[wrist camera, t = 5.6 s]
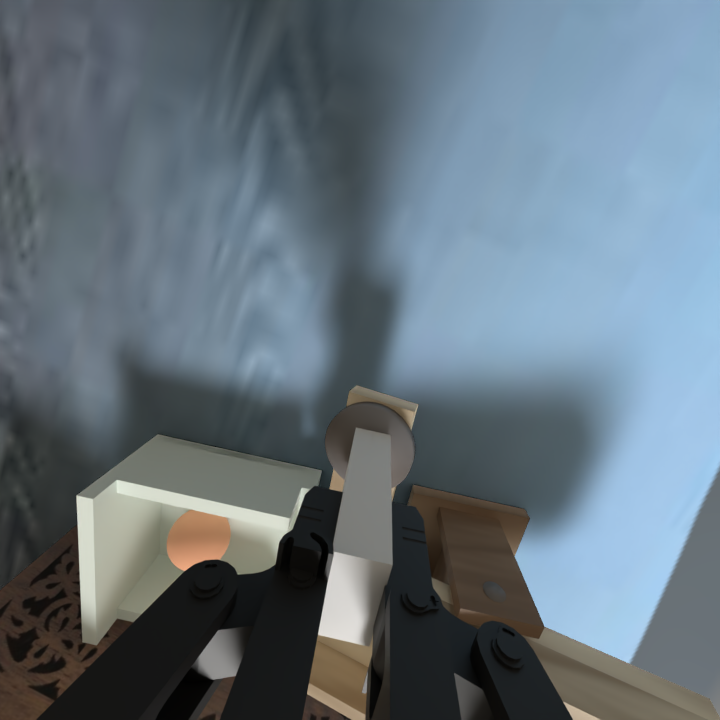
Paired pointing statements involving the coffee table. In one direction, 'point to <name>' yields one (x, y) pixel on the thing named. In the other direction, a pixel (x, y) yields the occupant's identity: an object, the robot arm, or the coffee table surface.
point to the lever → (555, 651)
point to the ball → (197, 538)
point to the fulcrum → (478, 557)
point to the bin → (162, 509)
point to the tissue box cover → (66, 639)
